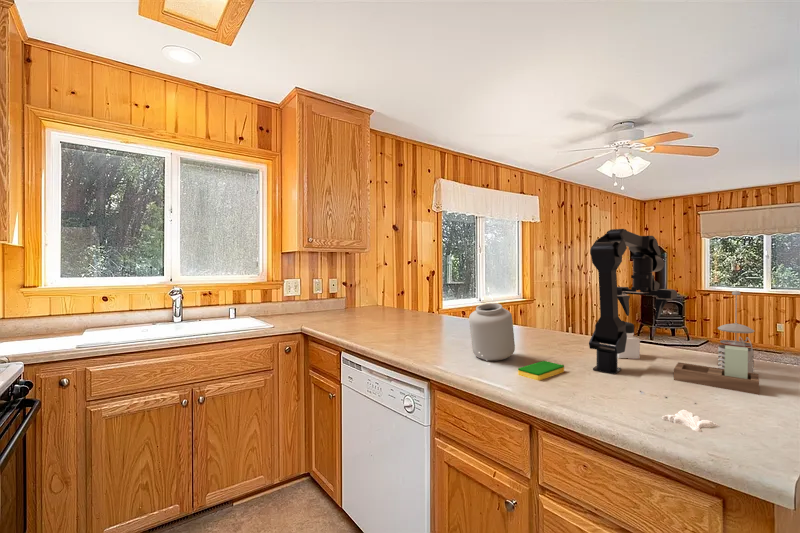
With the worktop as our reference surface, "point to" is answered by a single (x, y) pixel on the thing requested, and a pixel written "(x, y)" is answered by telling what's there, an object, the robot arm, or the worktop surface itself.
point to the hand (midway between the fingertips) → (642, 317)
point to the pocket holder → (715, 378)
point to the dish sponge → (541, 370)
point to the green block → (736, 361)
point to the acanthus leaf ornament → (689, 420)
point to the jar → (492, 332)
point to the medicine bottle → (631, 344)
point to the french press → (736, 329)
